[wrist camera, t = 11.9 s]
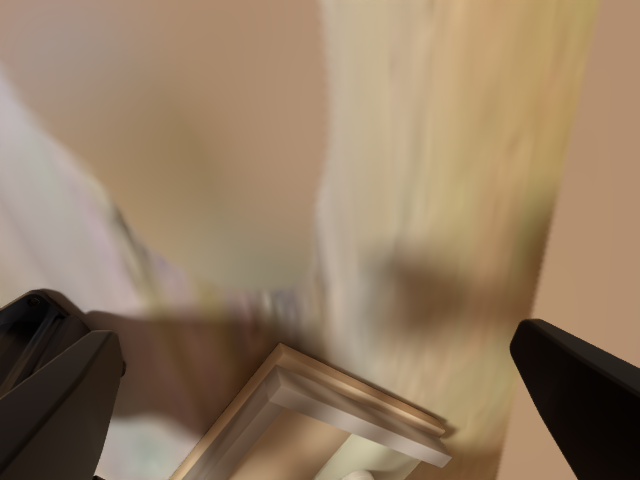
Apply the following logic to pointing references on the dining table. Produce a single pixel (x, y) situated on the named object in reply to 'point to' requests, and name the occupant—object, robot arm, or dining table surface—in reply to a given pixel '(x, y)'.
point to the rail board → (312, 429)
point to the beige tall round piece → (359, 475)
